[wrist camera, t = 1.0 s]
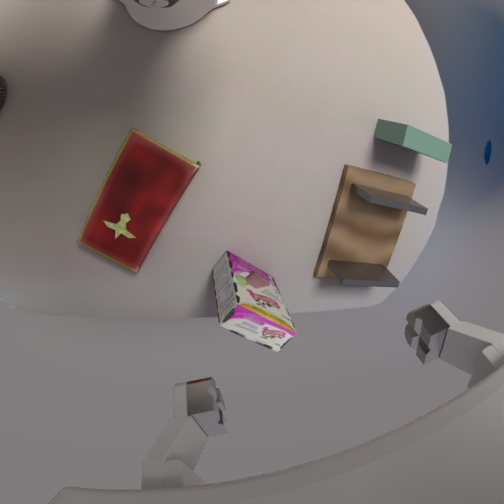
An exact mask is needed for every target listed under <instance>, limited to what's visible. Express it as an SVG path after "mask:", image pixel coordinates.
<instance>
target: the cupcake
mask: <svg viewBox="0 0 504 504" xmlns="http://www.w3.org/2000/svg"><path fill="white" fill-rule="evenodd" d="M6 94H7V87H6V83H5V80H4V79H3V78H2V76H0V110H1V108H2V106H3V104H4V102H5V99H6Z"/></svg>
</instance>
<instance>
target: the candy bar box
mask: <svg viewBox="0 0 504 504" xmlns="http://www.w3.org/2000/svg"><path fill="white" fill-rule="evenodd" d="M213 277H214V285H215V293H216V302H217V309H218V318H219V326H221V327H223V328H225V329H227V330H229V331H231V332H234V333H235V334H238V335H240V336H242V337H244V338H247V339H249V340H251V341H253V342H256V343H258V344H260V345H262V346H265V347H267V348H269V349H272V350H274V351H276V352H278V351H279V350H280V349H281V348H282V347H283V346H284V345H285V344H286V343H287V342H288V341H289V339H292V338H293V337H294V335H295V334H296V333H297V331H296V329H295V327H294V325H293V322H292V320H291V318H290V315H289V313H288V311H287V308H286V306H285V304H284V302H283V299H282V297H281V295H280V292H279V290H278V288H277V285H276V283H275V281H274V278H273V277H271V276H270V275H268V274H266V273H265V272H263V271H261V270H259V269H258V268H256V267H254V266H252V265H251V264H249V263H247V262H246V261H244V260H242V259H241V258H239V257H237V256H235V255H234V254H232V253H230V252H229V251H226V252H225V254H224V255H223V256H222V258H221V259H220V260H219V262H218V263H217V264H216V265H215V267H214V268H213Z"/></svg>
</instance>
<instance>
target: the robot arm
mask: <svg viewBox="0 0 504 504" xmlns="http://www.w3.org/2000/svg"><path fill="white" fill-rule="evenodd" d="M119 1H121V2H122V3H123V4H124V5H125V7H126V9H127V11H128V13H129V14H130V16H131V17H132V18H133V19H134V20H135V21H136V22H137V23H139V24H140V25H142V26H144V27H147V28H150V29H154V30H175V29H179V28H183V27H186V26H188V25H191V24H193V23H195V22H196V21H198V20H199V19H201V18H202V17H203V16H205V15H206V14H207V13H208V12H209V11H210V10H212V9H213V8H216V7H219V6H222V5H225V4H227V3H228V2H230V1H231V0H119ZM406 320H407V321H408V322H409V323H408V324H407V326H406V327H405V337H406V340H407V342H408V344H409V345H410V347H411V348H414V349H416V355H417V356H418V358H419V359H420V361H421V362H422V363H423V364H424V365H425V364H427V363H429V362H431V361H433V360H435V359H437V358H439V357H440V359H441V360H443V361H446V362H447V363H449V364H451V365H453V366H455V367H457V368H459V369H461V370H463V371H465V372H467V373H469V374H471V375H472V376H471V378H470V380H469V382H468V385H467V387H468V388H469V389H468V390H466V391H464V392H463V393H461V394H459V395H458V396H456V397H455V398H453V399H451V400H450V401H448V402H446V403H444V404H443V405H441V406H439V407H438V408H436V409H434V410H432V411H430V412H428V413H426V414H425V415H423V416H421V417H419V418H417V419H415V420H413V421H411V422H409V423H407V424H405V425H403V426H401V427H399V428H396V429H394V430H392V431H390V432H388V433H385V434H383V435H381V436H379V437H376V438H374V439H372V440H369V441H367V442H364V443H362V444H360V445H357V446H354V447H351V448H349V449H346V450H343V451H341V452H338V453H335V454H332V455H329V456H326V457H323V458H320V459H317V460H314V461H310V462H307V463H304V464H300V465H297V466H293V467H290V468H286V469H282V470H278V471H274V472H270V473H265V474H261V475H256V476H252V477H247V478H242V479H237V480H231V481H225V482H219V483H212V484H205V481H204V480H203V479H201V478H200V477H199V476H198V475H197V474H195V473H194V472H193V470H194V468H195V466H196V464H197V462H198V460H199V457H200V455H201V453H202V451H203V449H204V447H205V445H206V442H207V440H208V437H211V436H216V435H220V434H224V433H228V426H227V419H226V417H225V415H224V414H223V413H224V411H225V405H224V401H223V397H222V395H221V392H220V390H219V389H218V388H216V384H215V381H214V379H213V378H212V377H210V378H205V379H200V380H195V381H189V382H184V383H179V384H175V386H174V418H173V419H170V420H169V422H168V423H167V425H166V426H165V428H164V429H163V431H162V432H161V434H160V435H159V437H158V438H157V440H156V441H155V443H154V444H153V446H152V447H151V449H150V450H149V452H148V453H147V455H146V456H145V458H144V459H143V461H142V483H141V484H142V485H141V489H131V490H130V489H129V490H128V489H124V490H122V489H93V488H80V487H64V488H62V490H60V491H59V492H58V493H57V494H56V495H55V496H54V497H53V498H52V499H51V501H50V502H49V503H48V504H504V334H501V333H498V332H495V331H492V330H489V329H486V328H483V327H479V326H476V325H473V324H470V323H467V322H464V321H460V322H459V321H458V320H457V319H456V318H455V317H454V316H453V314H451V312H450V311H449V310H448V309H447V308H446V307H445V306H444V305H443V304H442V303H441V302H440V301H438V300H436V301H434V302H432V303H430V304H427V305H425V306H422V307H420V308H418V309H416V310H414V311H411V312H410V313H408V315H407V319H406Z"/></svg>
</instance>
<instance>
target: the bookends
mask: <svg viewBox="0 0 504 504" xmlns="http://www.w3.org/2000/svg"><path fill="white" fill-rule="evenodd" d="M350 190H352V191H353V192H355V193H356V194H358V195H359V196H361V197H362V198H364V199H365V200H367V201H368V202H370V203H375V204H379V205H384V206H389V207H393V208H398V209H402V210H407V211H411V212H415V213H420V214H424V215H426V213H427V210H428V209H427V208H426V207H424V206H422V205H421V204H419V203H417V202H416V201H414V200H412V199H411V198H409V197H407V196H404V195H400V194H396V193H392V192H388V191H384V190H380V189H376V188H372V187H367V186H363V185H359V184H354V183H352V185H351V189H350ZM328 266H329V268H330V269H331V271H332V272H333V273H334V275H335V276H336V277H337V279H338V280H339V282H340V283H341V284H342V285H354V286H376V287H398V285H399V283H400V282H399V281H398V280H397V279H396V278H395V277H394V276H393V275H392V273H391V272H390V271H389V270H388V269H387V268H386V267H385V266H384V265H383V264H373V263H362V262H351V261H340V260H329V262H328Z"/></svg>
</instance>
